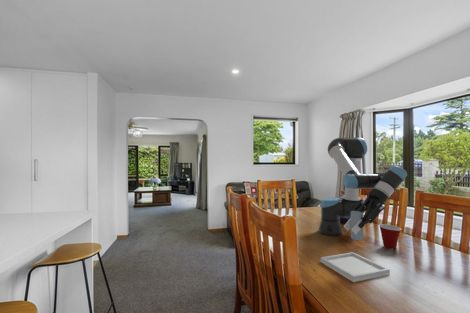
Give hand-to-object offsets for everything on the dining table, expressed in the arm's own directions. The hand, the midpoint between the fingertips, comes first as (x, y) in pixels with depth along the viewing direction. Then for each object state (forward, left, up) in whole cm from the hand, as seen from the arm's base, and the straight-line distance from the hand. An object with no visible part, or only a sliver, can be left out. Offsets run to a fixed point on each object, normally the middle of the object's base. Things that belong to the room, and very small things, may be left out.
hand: (349, 230), depth 107 cm
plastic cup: (-13, +42, -18) cm, 47 cm away
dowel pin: (+1, +4, -4) cm, 5 cm away
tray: (0, +2, -17) cm, 18 cm away
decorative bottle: (-66, +59, -18) cm, 90 cm away
